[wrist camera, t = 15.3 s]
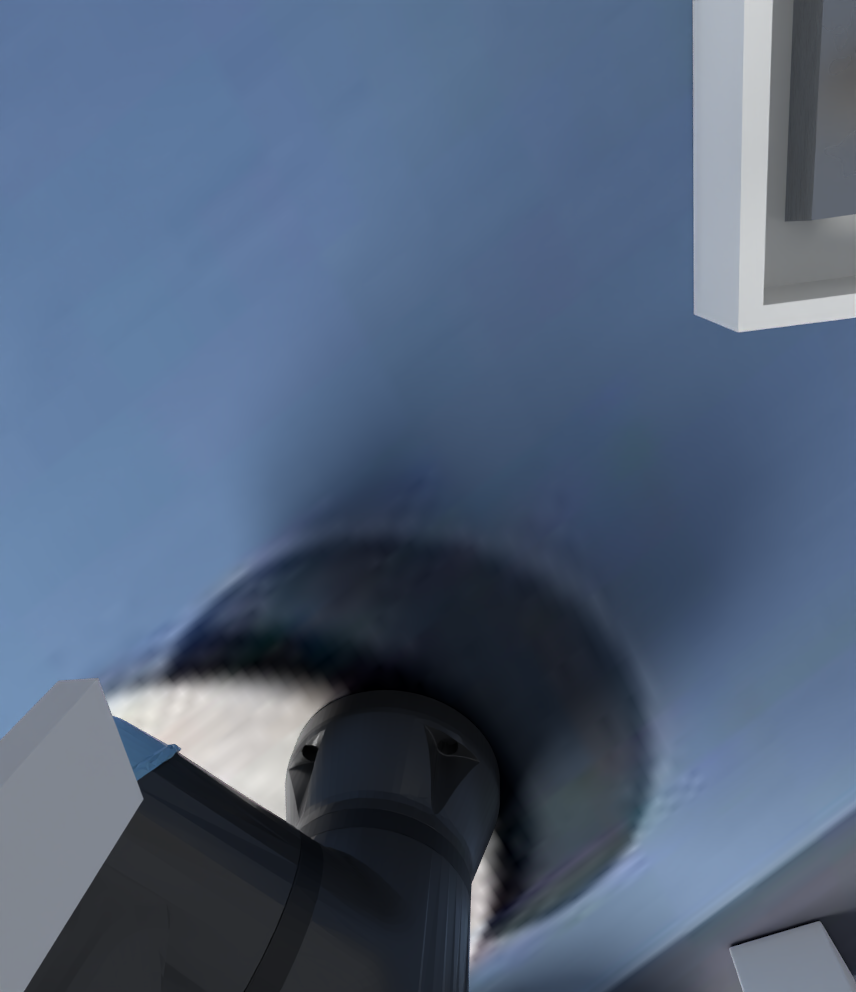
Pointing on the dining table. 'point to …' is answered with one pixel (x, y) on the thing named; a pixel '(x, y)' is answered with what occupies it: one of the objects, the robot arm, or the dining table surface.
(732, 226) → the box
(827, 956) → the milk carton
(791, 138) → the bore plate
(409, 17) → the dining table surface
